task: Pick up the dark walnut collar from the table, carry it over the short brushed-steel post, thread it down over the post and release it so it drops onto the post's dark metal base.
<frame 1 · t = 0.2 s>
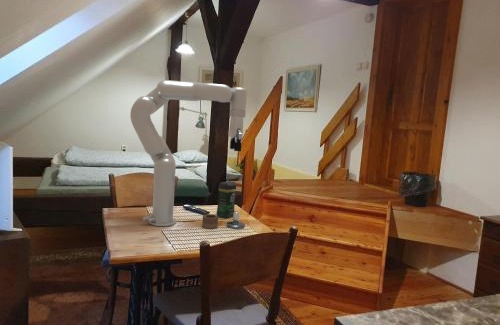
hand: (235, 150, 172), 36 cm above the table, tool pointing down, fingers open, 9 cm apart
collar: (209, 226, 169), on the table
coffee jar: (225, 216, 189), on the table
post: (235, 226, 173), on the table
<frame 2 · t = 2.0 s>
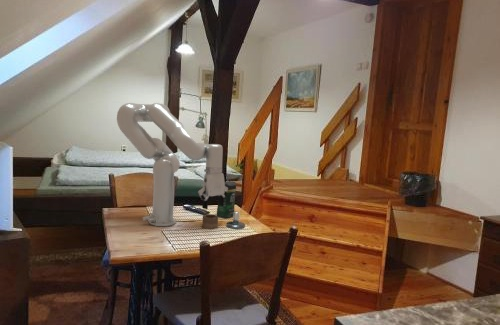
hand: (213, 207, 168), 10 cm above the table, tool pointing down, fingers open, 9 cm apart
nothing on the table moved.
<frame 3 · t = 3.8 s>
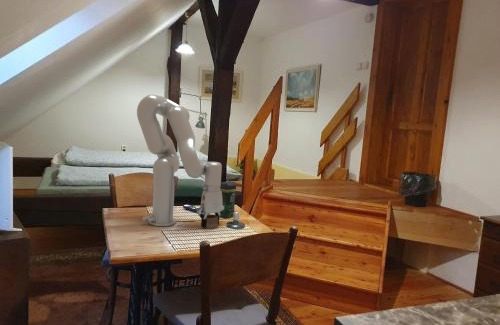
hand: (210, 225, 169), 1 cm above the table, tool pointing down, fingers closed on collar, 7 cm apart
collar: (209, 226, 169), on the table, touching gripper
everything else where it was.
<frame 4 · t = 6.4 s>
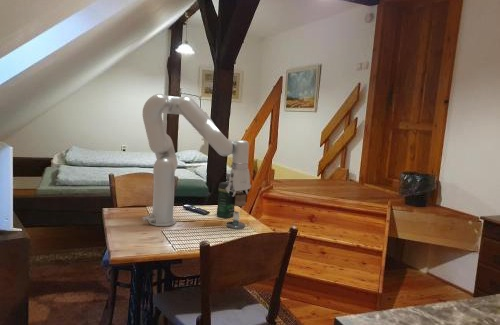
hand: (238, 202, 171), 12 cm above the table, tool pointing down, fingers closed on collar, 7 cm apart
collar: (238, 204, 171), point 11 cm above the table, touching gripper
everything else where it was.
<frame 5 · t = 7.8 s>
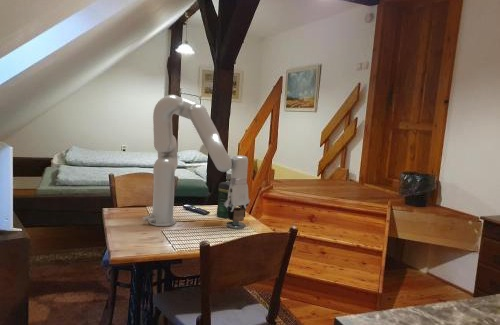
hand: (236, 217, 172), 4 cm above the table, tool pointing down, fingers closed on collar, 7 cm apart
collar: (236, 219, 172), point 3 cm above the table, touching gripper
everything else where it was.
when the fingers open (3 cm above the table, at t = 9.0 s): collar drops 1 cm, resting on post.
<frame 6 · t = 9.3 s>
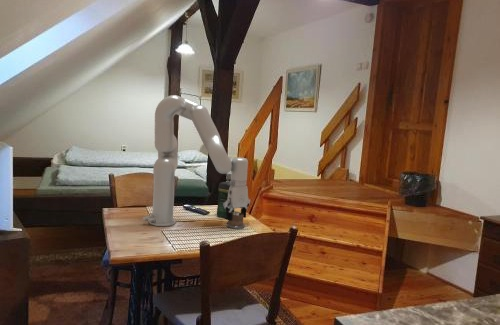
hand: (236, 218, 172), 4 cm above the table, tool pointing down, fingers open, 9 cm apart
collar: (235, 224, 172), point 1 cm above the table, touching post
everything else where it was.
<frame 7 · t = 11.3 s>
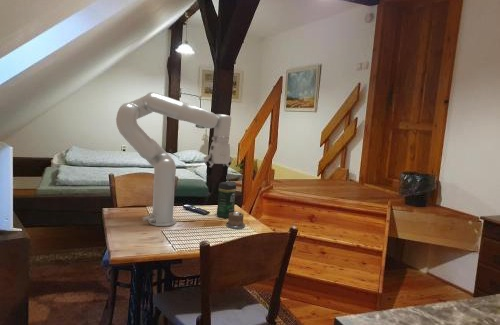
hand: (216, 175, 174), 24 cm above the table, tool pointing down, fingers open, 9 cm apart
nothing on the table moved.
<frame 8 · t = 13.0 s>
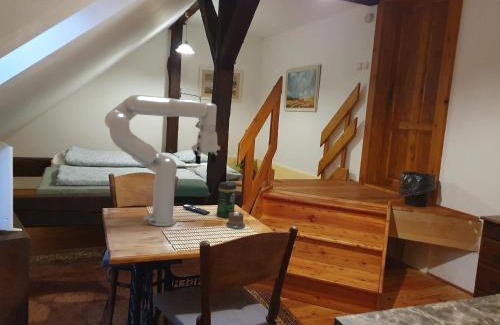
hand: (205, 163, 177), 28 cm above the table, tool pointing down, fingers open, 9 cm apart
nothing on the table moved.
at the end: collar 0.0 cm off-centre on the post, point 1.0 cm above the post's base; collar tilted 0°; the gripper is holding nothing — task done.
